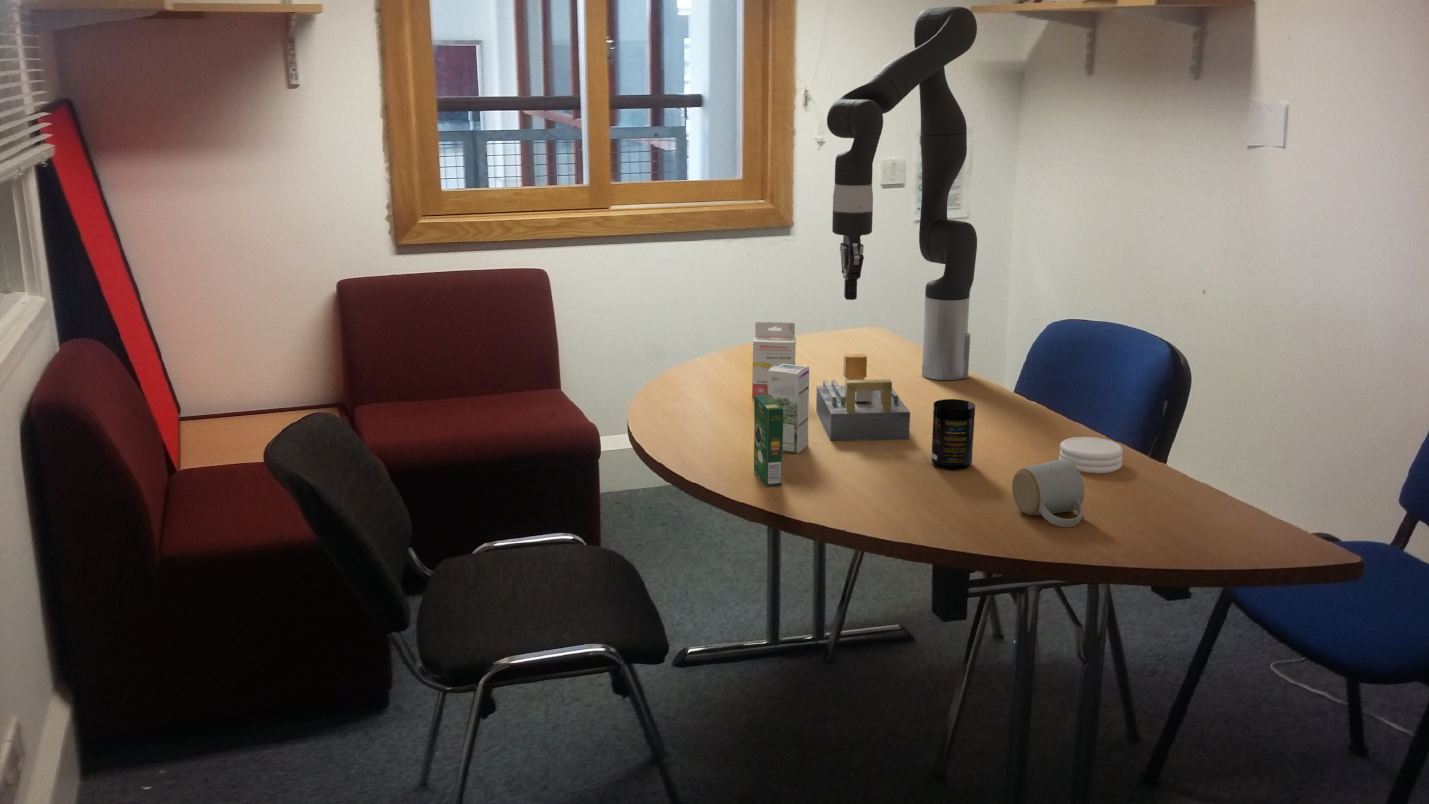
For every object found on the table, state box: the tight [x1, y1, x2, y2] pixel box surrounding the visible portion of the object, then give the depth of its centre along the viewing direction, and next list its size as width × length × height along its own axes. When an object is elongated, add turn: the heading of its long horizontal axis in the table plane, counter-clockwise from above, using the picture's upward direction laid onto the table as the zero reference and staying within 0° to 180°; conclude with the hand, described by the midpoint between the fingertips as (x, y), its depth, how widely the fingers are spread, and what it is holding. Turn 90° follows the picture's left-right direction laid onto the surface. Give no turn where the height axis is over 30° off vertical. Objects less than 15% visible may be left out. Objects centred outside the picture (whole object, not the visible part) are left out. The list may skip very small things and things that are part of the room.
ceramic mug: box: [1011, 459, 1085, 527], centre depth 169 cm, size 11×8×8 cm
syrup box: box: [768, 363, 810, 454], centre depth 200 cm, size 6×6×14 cm
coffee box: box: [753, 395, 784, 488], centre depth 185 cm, size 8×3×13 cm, turn 13°
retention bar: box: [842, 353, 873, 402], centre depth 216 cm, size 4×12×6 cm, turn 3°
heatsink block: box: [815, 378, 911, 442], centre depth 214 cm, size 14×19×10 cm
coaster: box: [1058, 436, 1124, 474], centre depth 193 cm, size 10×10×4 cm
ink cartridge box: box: [751, 321, 797, 398], centre depth 234 cm, size 9×5×15 cm, turn 84°
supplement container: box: [930, 398, 976, 471], centre depth 191 cm, size 7×7×10 cm
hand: (850, 298), depth 224 cm, fingers closed
